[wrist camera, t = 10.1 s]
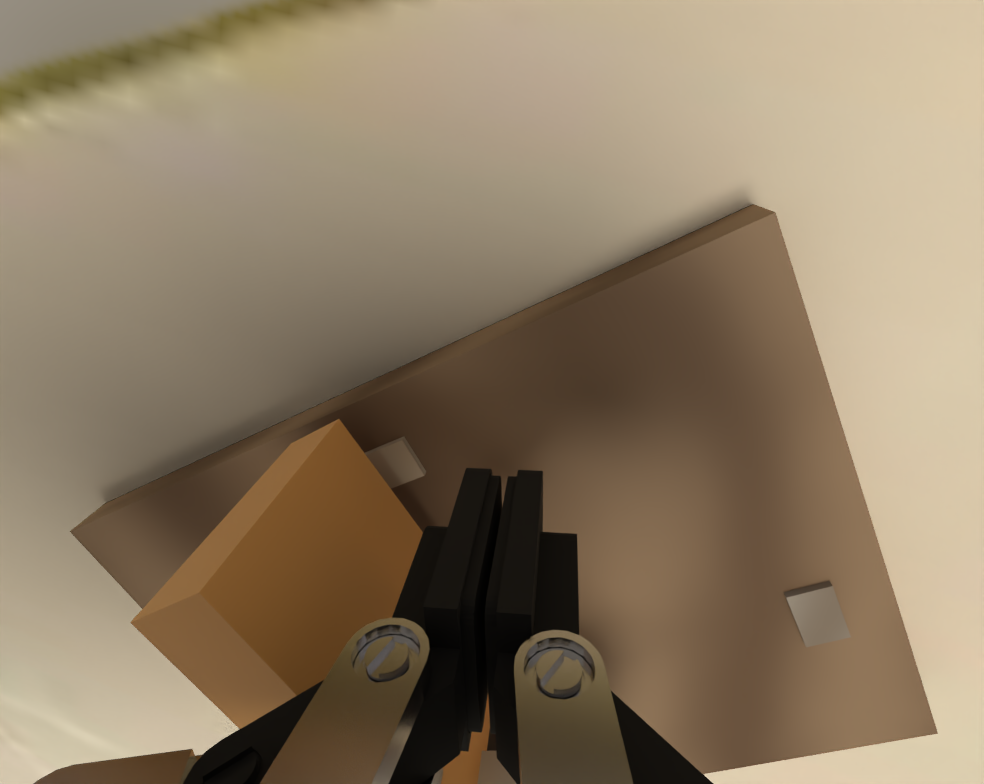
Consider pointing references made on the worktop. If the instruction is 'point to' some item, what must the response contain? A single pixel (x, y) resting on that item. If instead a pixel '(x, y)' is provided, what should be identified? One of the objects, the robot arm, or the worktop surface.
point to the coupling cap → (295, 586)
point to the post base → (636, 494)
